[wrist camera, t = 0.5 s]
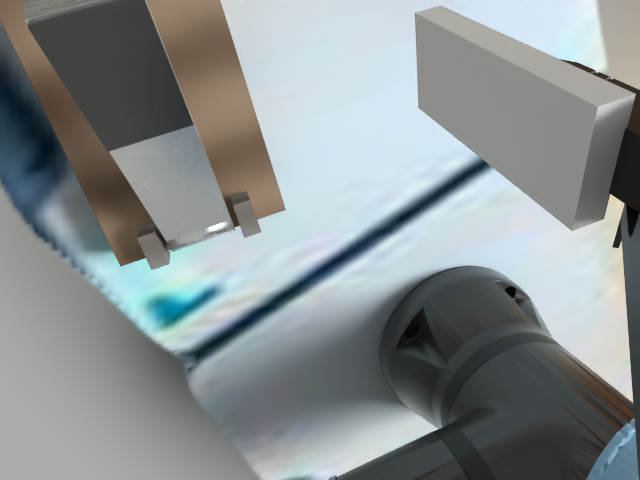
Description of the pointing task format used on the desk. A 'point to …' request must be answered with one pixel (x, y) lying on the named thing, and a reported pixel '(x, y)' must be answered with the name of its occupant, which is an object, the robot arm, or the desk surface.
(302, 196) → the desk surface
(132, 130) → the silver metal piece
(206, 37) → the base
